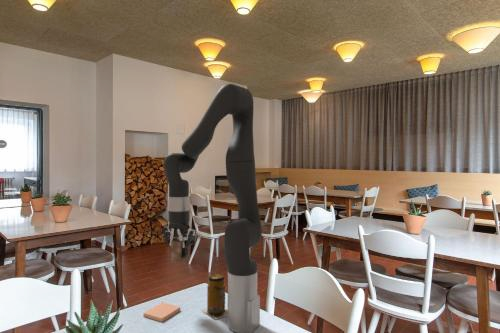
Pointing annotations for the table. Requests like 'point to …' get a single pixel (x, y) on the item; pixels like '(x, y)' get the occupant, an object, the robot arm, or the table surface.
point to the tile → (161, 312)
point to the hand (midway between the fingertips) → (179, 256)
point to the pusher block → (176, 251)
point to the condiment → (216, 297)
